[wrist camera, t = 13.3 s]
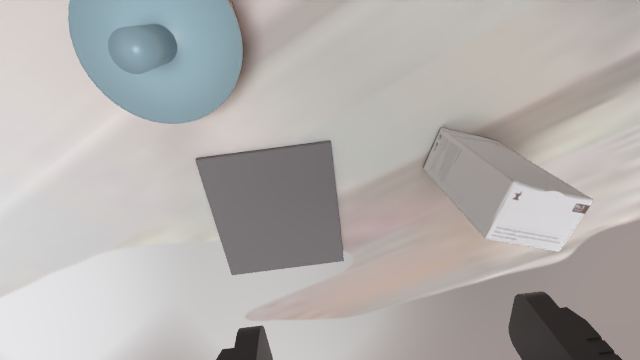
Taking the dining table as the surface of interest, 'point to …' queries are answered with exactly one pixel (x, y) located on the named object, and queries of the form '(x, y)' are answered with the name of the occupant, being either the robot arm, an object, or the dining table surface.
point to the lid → (159, 54)
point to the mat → (274, 206)
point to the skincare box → (504, 191)
